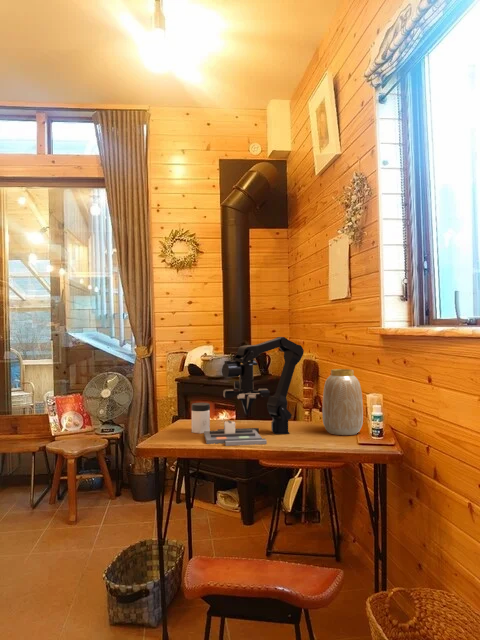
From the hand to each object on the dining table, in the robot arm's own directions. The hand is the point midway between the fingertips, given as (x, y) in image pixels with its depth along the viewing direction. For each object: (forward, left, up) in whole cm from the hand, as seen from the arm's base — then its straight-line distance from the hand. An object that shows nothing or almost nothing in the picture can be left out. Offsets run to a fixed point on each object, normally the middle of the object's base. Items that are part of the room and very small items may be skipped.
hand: (246, 414), depth 186 cm
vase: (-43, -4, -10) cm, 44 cm away
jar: (+18, -15, -10) cm, 25 cm away
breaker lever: (+7, 0, -8) cm, 11 cm away
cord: (+2, -10, -10) cm, 14 cm away
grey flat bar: (+2, +9, -10) cm, 14 cm away
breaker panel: (+6, 0, -10) cm, 11 cm away
